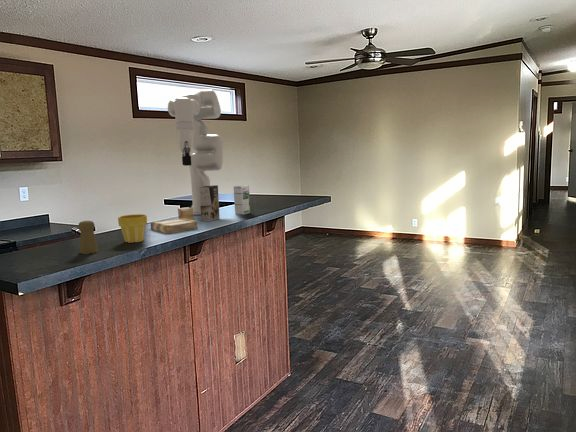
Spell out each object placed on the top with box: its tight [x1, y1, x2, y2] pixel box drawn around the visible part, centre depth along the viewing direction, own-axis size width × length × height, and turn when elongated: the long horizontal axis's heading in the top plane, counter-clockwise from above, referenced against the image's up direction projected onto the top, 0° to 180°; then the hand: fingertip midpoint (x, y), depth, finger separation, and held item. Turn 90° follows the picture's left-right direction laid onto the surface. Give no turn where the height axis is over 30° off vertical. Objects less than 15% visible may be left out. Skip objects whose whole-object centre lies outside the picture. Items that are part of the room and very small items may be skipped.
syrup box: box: [233, 184, 251, 215], centre depth 244 cm, size 6×6×14 cm
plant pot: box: [117, 213, 148, 244], centre depth 183 cm, size 10×10×10 cm
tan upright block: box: [177, 206, 195, 221], centre depth 220 cm, size 5×5×7 cm
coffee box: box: [199, 185, 221, 222], centre depth 228 cm, size 9×6×16 cm
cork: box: [77, 220, 99, 255], centre depth 166 cm, size 6×6×11 cm
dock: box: [150, 217, 199, 234], centre depth 207 cm, size 16×14×3 cm
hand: (186, 165), depth 215 cm, fingers open, 9 cm apart
